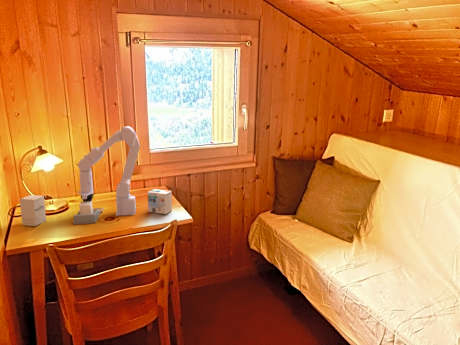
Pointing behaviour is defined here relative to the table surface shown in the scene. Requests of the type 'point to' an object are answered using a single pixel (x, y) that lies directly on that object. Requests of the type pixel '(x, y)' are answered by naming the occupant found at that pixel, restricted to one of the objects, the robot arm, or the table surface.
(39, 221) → the supplement box
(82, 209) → the block
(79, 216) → the tray
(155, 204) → the light bulb box
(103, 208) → the stand
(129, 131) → the robot arm
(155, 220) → the table surface
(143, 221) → the table surface
